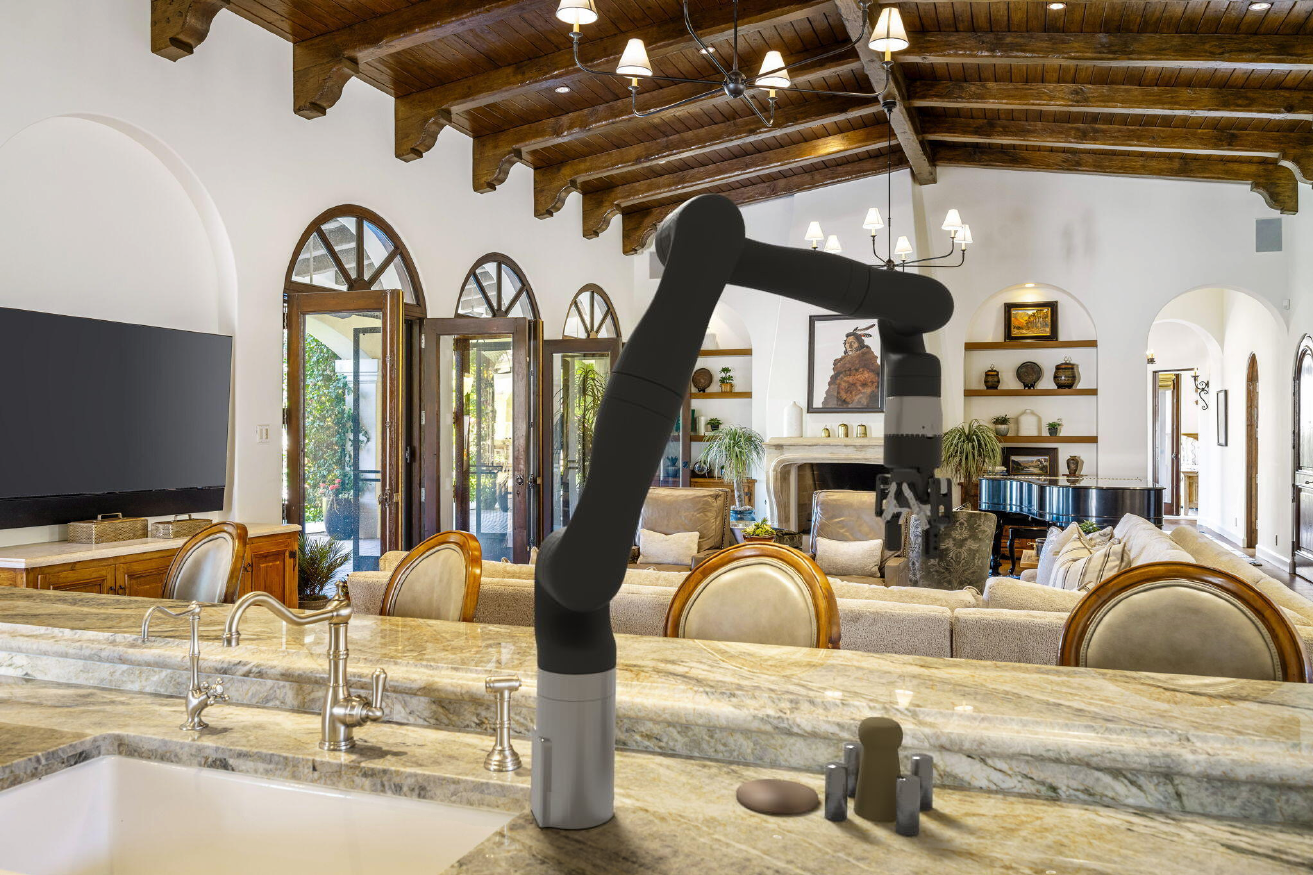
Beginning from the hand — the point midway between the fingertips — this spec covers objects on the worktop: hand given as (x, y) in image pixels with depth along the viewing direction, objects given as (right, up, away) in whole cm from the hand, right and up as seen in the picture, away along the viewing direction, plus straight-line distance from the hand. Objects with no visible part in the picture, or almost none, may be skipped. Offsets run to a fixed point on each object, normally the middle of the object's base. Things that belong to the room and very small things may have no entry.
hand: (911, 554), depth 120 cm
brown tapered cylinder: (-7, -29, -12) cm, 32 cm away
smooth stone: (-19, -29, -9) cm, 36 cm away
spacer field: (-7, -29, -12) cm, 32 cm away
